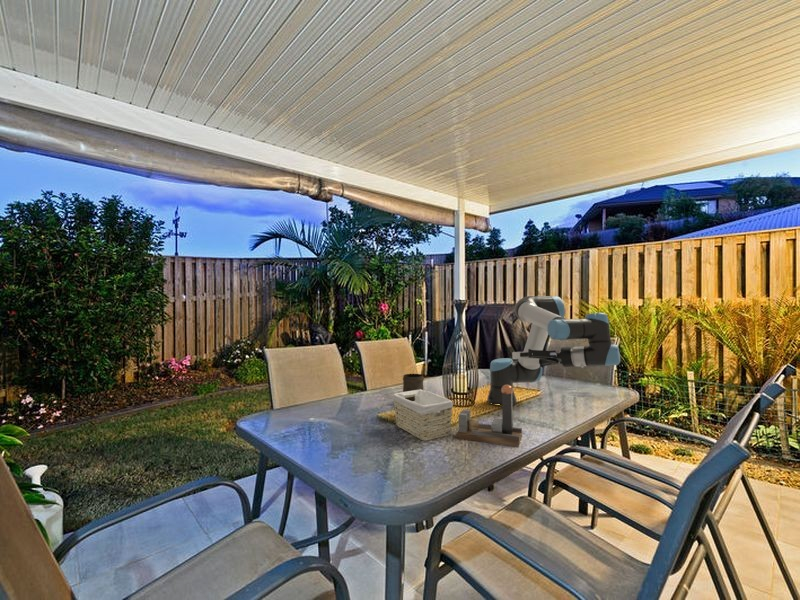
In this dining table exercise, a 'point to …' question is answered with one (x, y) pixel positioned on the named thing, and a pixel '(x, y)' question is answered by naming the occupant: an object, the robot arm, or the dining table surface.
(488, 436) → the base
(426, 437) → the storage basket
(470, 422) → the tan rounded cylinder
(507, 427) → the handle
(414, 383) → the beer stein
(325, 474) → the dining table surface
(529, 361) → the robot arm
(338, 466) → the dining table surface
